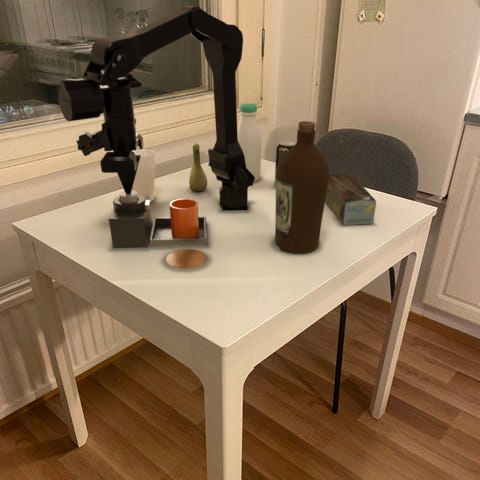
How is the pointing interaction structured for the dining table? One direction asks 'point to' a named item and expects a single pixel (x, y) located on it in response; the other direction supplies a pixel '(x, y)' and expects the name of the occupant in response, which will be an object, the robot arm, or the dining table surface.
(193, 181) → the green gourd vase
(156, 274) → the dining table surface
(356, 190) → the beverage carton
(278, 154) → the beverage can
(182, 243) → the drip tray
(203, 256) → the cork coaster
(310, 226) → the olive oil
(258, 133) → the milk bottle
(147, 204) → the grey small block
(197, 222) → the orange cup
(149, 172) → the cup
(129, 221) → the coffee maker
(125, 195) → the button
